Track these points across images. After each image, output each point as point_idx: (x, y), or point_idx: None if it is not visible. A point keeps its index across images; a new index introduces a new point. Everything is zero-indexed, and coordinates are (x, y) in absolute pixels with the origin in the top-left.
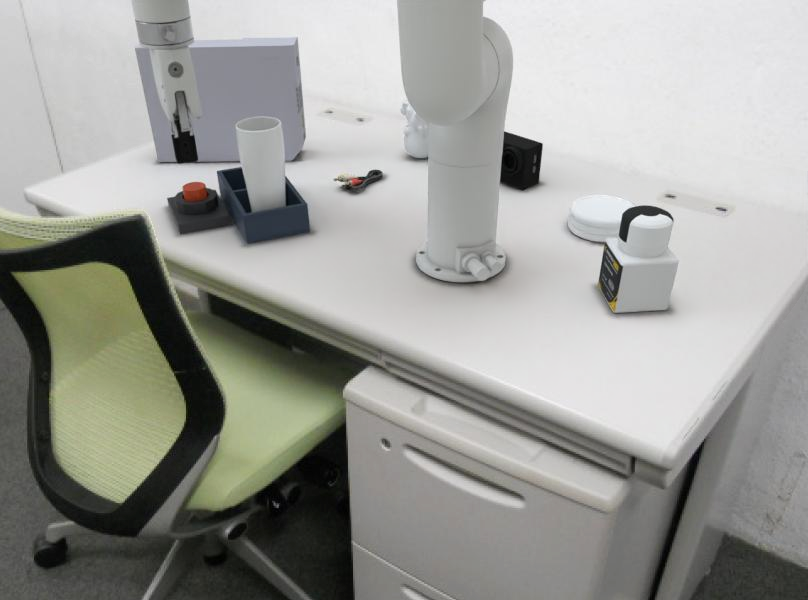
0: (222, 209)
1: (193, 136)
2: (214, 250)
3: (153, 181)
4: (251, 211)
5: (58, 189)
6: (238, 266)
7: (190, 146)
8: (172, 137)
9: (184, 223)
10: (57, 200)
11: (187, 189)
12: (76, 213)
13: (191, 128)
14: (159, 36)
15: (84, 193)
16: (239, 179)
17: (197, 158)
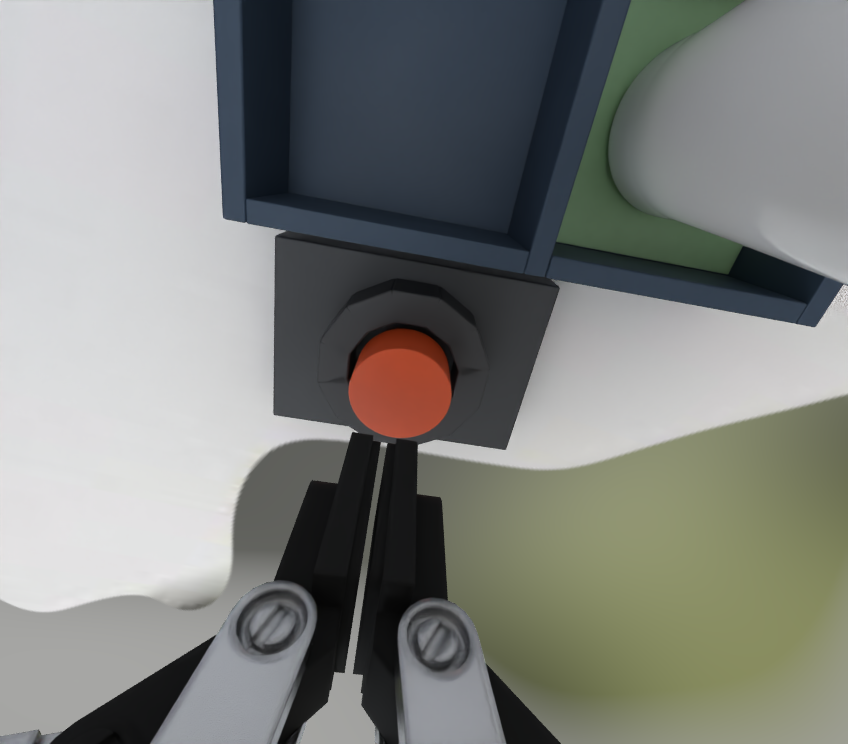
0: (491, 289)
1: (410, 578)
2: (668, 387)
3: (22, 369)
4: (665, 218)
5: (32, 576)
6: (816, 369)
7: (441, 554)
8: (362, 688)
9: (510, 433)
10: (112, 589)
11: (418, 427)
12: (216, 576)
13: (491, 711)
14: None
15: (80, 540)
16: (267, 95)
17: (416, 447)
